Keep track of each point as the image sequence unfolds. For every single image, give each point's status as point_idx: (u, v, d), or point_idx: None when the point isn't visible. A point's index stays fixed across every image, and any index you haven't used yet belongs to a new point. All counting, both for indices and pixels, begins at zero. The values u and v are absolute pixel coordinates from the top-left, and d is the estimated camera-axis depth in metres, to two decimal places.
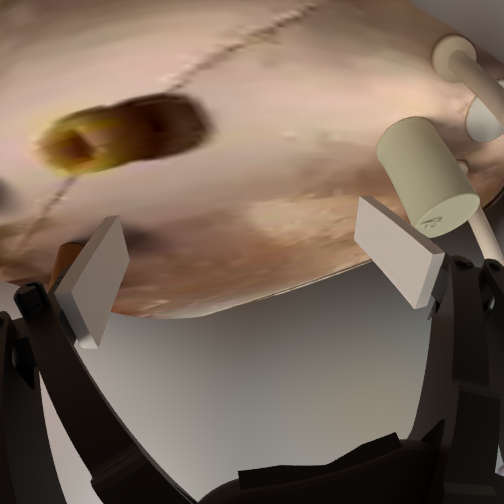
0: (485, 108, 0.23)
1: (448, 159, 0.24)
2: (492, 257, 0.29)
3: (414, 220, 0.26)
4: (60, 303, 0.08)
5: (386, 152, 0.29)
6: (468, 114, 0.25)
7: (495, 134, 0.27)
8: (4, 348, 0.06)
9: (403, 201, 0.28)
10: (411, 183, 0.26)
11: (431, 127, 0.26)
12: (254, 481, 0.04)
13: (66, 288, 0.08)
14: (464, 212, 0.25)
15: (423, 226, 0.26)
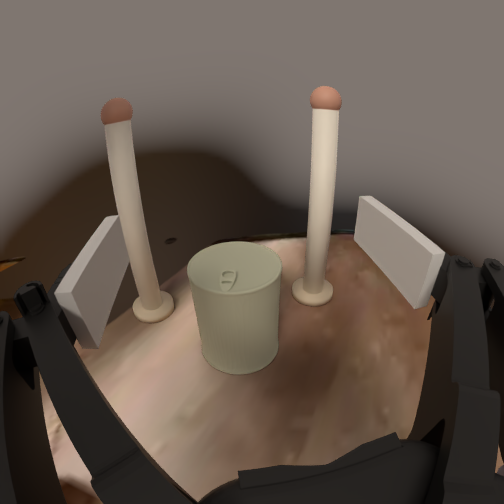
0: None
1: None
2: (314, 191, 0.33)
3: (222, 298, 0.24)
4: (60, 303, 0.08)
5: (220, 359, 0.29)
6: None
7: None
8: (4, 348, 0.06)
9: (233, 323, 0.25)
10: (205, 318, 0.26)
11: None
12: (254, 481, 0.04)
13: (66, 288, 0.08)
14: (237, 251, 0.30)
15: (226, 285, 0.24)
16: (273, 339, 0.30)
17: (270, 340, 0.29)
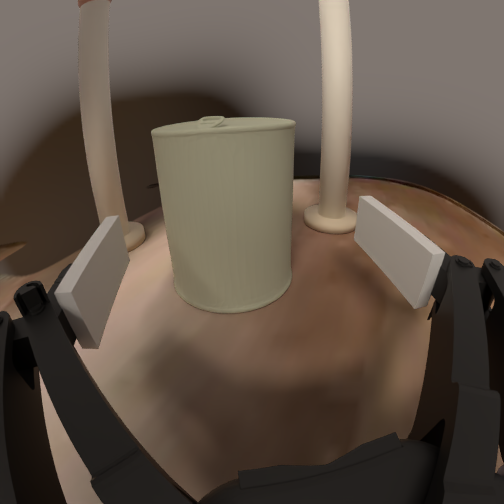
0: None
1: None
2: (328, 74, 0.22)
3: (199, 142, 0.13)
4: (60, 303, 0.08)
5: (197, 284, 0.18)
6: None
7: None
8: (4, 348, 0.06)
9: (217, 196, 0.15)
10: (172, 198, 0.16)
11: None
12: (254, 481, 0.04)
13: (66, 288, 0.08)
14: (229, 120, 0.19)
15: (207, 124, 0.14)
16: (286, 252, 0.19)
17: (280, 249, 0.18)
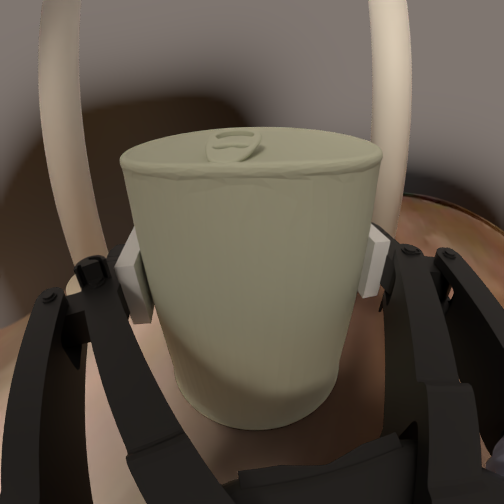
0: None
1: None
2: (383, 71, 0.15)
3: (213, 194, 0.06)
4: (119, 277, 0.09)
5: (211, 399, 0.11)
6: None
7: None
8: (54, 326, 0.07)
9: (249, 301, 0.08)
10: (163, 288, 0.09)
11: None
12: (254, 481, 0.04)
13: (127, 262, 0.09)
14: None
15: (230, 150, 0.06)
16: (342, 346, 0.12)
17: (338, 349, 0.11)
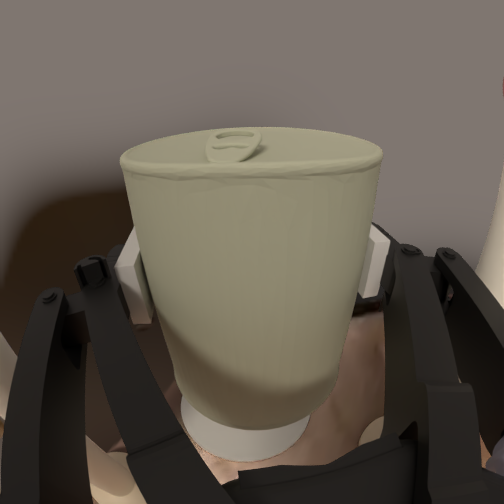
0: (227, 430, 0.21)
1: None
2: None
3: (214, 194, 0.06)
4: (119, 277, 0.09)
5: (211, 400, 0.11)
6: (235, 460, 0.18)
7: None
8: (54, 326, 0.07)
9: (250, 302, 0.07)
10: (163, 288, 0.09)
11: None
12: (254, 481, 0.04)
13: (127, 262, 0.09)
14: None
15: (231, 151, 0.06)
16: (342, 347, 0.12)
17: (338, 350, 0.11)
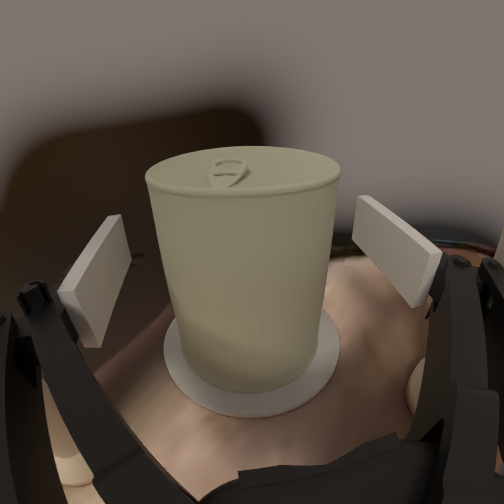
0: None
1: None
2: None
3: (213, 208, 0.10)
4: (63, 302, 0.08)
5: (210, 364, 0.14)
6: (234, 414, 0.14)
7: None
8: (6, 347, 0.06)
9: (238, 280, 0.11)
10: (177, 272, 0.12)
11: None
12: (254, 481, 0.04)
13: (69, 287, 0.08)
14: (249, 153, 0.15)
15: (225, 177, 0.10)
16: (316, 324, 0.15)
17: (312, 325, 0.14)
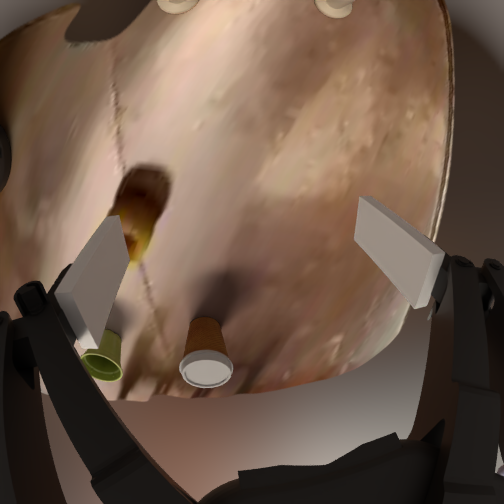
0: None
1: None
2: None
3: None
4: (60, 303, 0.08)
5: None
6: None
7: None
8: (4, 348, 0.06)
9: None
10: None
11: None
12: (254, 481, 0.04)
13: (66, 288, 0.08)
14: None
15: None
16: None
17: None
